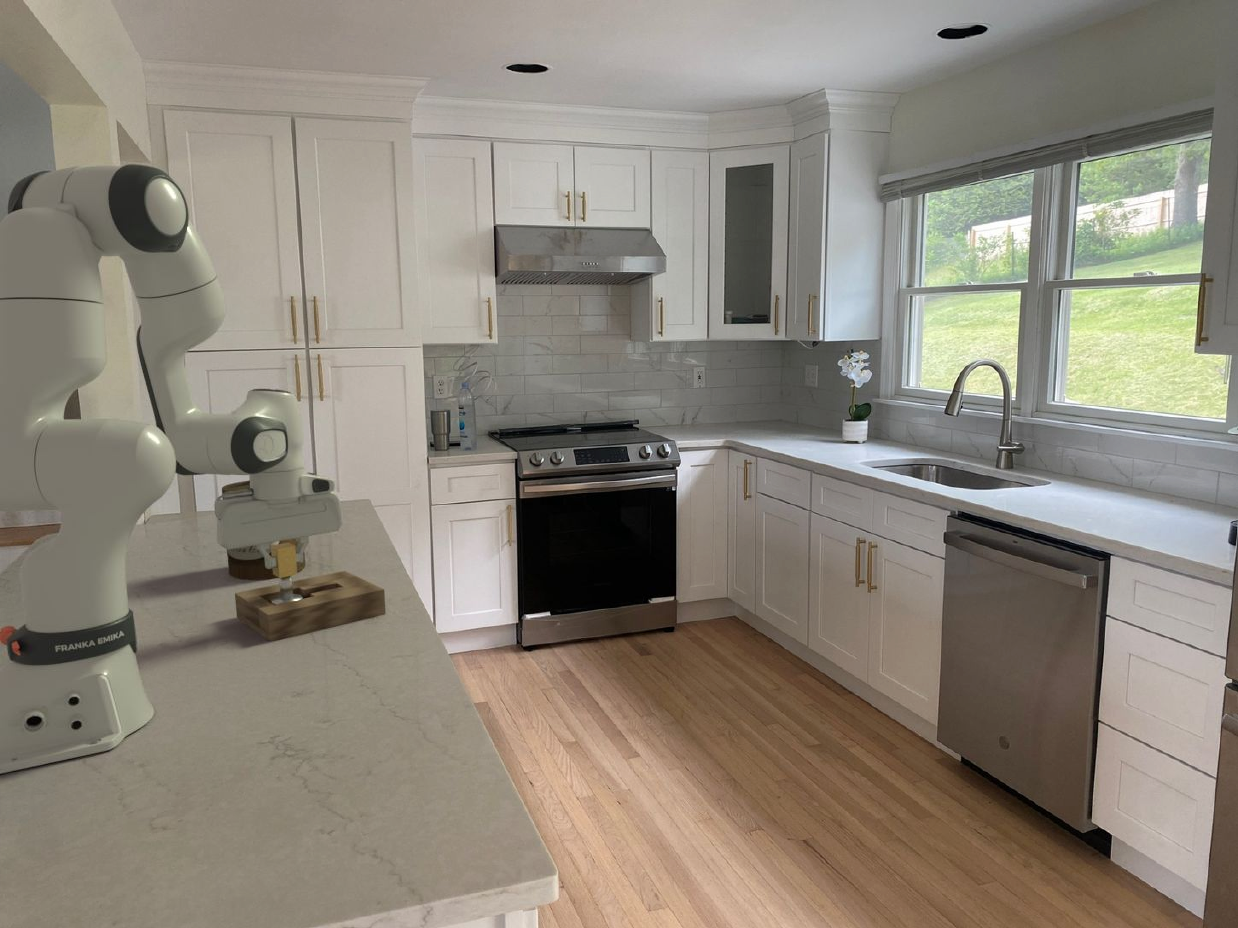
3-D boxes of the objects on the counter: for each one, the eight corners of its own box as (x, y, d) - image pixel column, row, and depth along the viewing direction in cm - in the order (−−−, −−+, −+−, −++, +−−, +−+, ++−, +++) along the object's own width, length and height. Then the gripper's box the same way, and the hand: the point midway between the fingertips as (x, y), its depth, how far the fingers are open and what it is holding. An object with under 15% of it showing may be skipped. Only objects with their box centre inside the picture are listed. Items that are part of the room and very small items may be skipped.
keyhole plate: (270, 641, 141) (268, 614, 140) (236, 617, 153) (234, 592, 152) (385, 613, 154) (384, 589, 153) (346, 593, 166) (345, 570, 165)
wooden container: (212, 578, 178) (203, 470, 174) (259, 559, 192) (251, 459, 188) (277, 582, 174) (269, 472, 171) (319, 562, 188) (312, 461, 185)
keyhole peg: (278, 612, 147) (273, 551, 146) (267, 605, 151) (262, 545, 149) (307, 605, 150) (303, 545, 149) (296, 598, 154) (291, 540, 152)
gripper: (219, 496, 138) (226, 581, 140) (344, 479, 152) (348, 557, 154) (207, 490, 143) (214, 573, 145) (328, 475, 156) (333, 551, 158)
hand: (284, 565), depth 150 cm, fingers closed on keyhole peg, 3 cm apart
